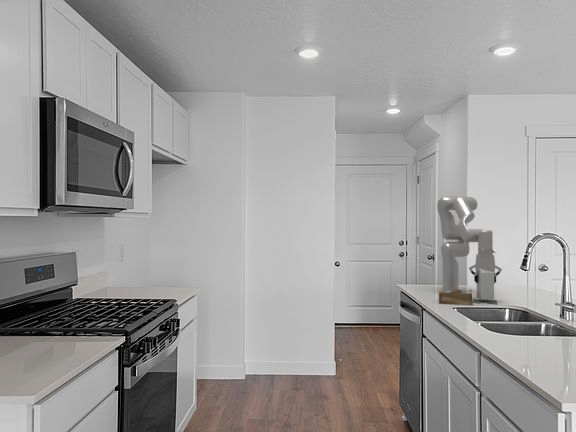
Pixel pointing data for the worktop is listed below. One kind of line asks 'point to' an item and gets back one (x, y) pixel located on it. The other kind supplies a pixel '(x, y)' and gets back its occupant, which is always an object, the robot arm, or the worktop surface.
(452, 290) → the offcut upper
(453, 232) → the robot arm
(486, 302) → the mat
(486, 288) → the milk carton
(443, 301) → the rack
